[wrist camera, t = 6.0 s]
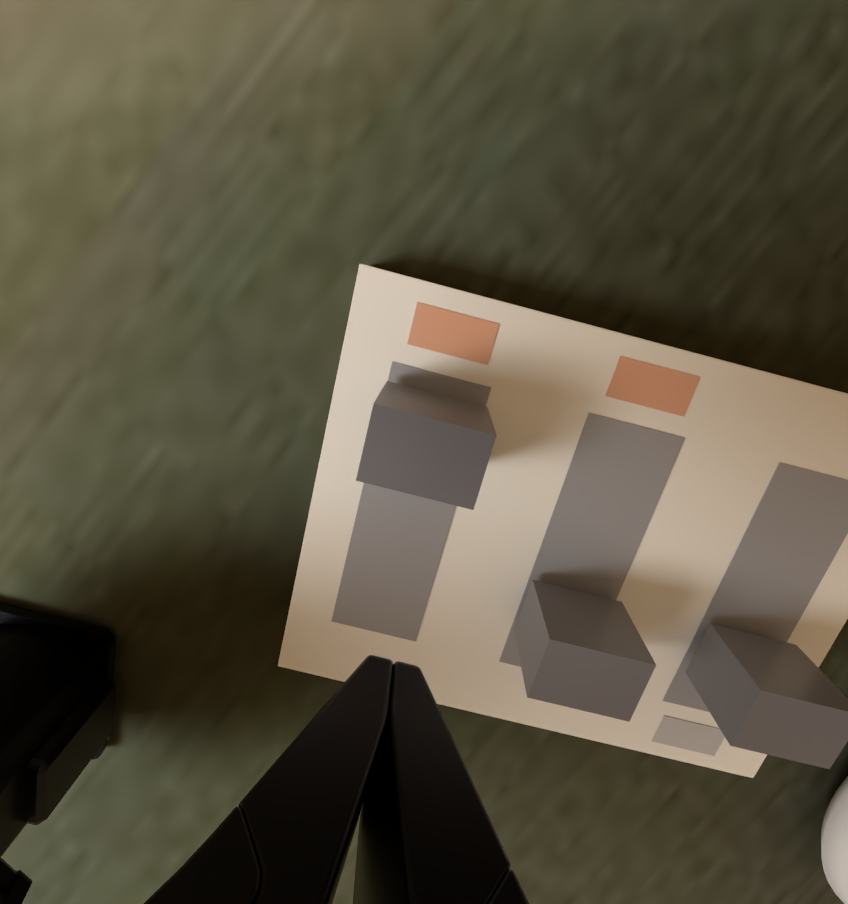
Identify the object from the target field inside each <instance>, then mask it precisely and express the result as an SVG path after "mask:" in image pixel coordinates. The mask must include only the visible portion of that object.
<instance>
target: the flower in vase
mask: <svg viewBox="0 0 848 904" xmlns="http://www.w3.org/2000/svg"><path fill="white" fill-rule="evenodd" d="M821 858H822V864H823V870H824V873H825V875H826V878H827V881H828V883H829V884H830V886H831V888H832V889H833V891H834V892H835V894H836V895H837V896H838V897H839V898H840V899H841V900H842V902H843V903H844V904H848V776H847V778H846V779H845V780H844V781H843V783H842V784H841V785H840V787H839V788H838V789H837V791H836V792H835V794H834V796H833V798H832V799H831V801H830V803H829V805H828V808H827V810H826V813H825V815H824V819H823V824H822V828H821Z"/></svg>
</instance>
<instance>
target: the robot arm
mask: <svg viewBox="0 0 848 904" xmlns="http://www.w3.org/2000/svg"><path fill="white" fill-rule="evenodd" d="M98 640H100V641H101V642H102V643H101V642H99V641H98ZM115 644H116V639H115V636H114V634H113V633H112V632H111V631H110V630H108V629H106V628H103V627H99V626H95V625H90V624H86V623H82V622H78V621H73V620H69V619H65V618H61V617H56V616H52V615H48V614H44V613H39V612H35V611H31V610H27V609H22V608H18V607H14V606H10V605H5V604H1V603H0V904H22V902H23V900H24V898H25V896H26V894H27V892H28V890H29V888H30V886H31V884H32V880H31V879H30V878H29V877H28V876H26V875H25V874H24V873H23V872H22V871H21V870H19V871H17V872H16V871H15V870H14V869H13V868H12V867H11V866H10V865H8V864H7V863H6V862H5V861H4V860H3V859H2V858H1V856H2V855H3V854H4V853H5V851H6V850H7V849H8V847H9V846H10V845H11V843H12V842H13V841H14V840H15V838H16V837H17V836H18V834H19V833H20V832H21V830H22V829H23V828H24V827H25V825H26V824H27V823H28V824H33V825H38V824H40V823H41V822H43V821H44V820H46V819H47V818H48V817H49V815H50V814H51V813H52V811H53V810H54V809H55V807H56V806H57V805H58V803H59V802H60V801H61V799H62V798H63V796H64V795H65V794H66V792H67V791H68V790H69V788H70V787H71V786H72V784H73V783H74V782H75V780H76V779H77V778H78V776H79V775H80V774H81V772H82V771H83V770H84V768H85V767H86V765H87V764H88V763H89V761H90V760H91V759H97V758H98V757H99V756H100V755H101V754H102V753H103V751H104V750H105V748H106V746H107V737H108V736H109V734H110V733H111V731H112V724H113V712H114V701H115V690H116V686H115V683H114V681H113V680H112V679H113V667H114V656H115ZM361 808H362V809H361ZM360 811H361V815H360V824H359V834H358V846H357V859H356V871H355V883H354V896H353V904H529V902H528V900H527V898H526V896H525V894H524V892H523V890H522V887H521V885H520V883H519V881H518V879H517V876H516V874H515V872H514V871H513V870H512V869H510V862H509V859H508V857H507V855H506V853H505V851H504V849H503V846H502V844H501V842H500V840H499V838H498V836H497V833H496V831H495V829H494V827H493V825H492V823H491V820H490V818H489V816H488V814H487V812H486V810H485V807H484V805H483V803H482V801H481V799H480V797H479V794H478V792H477V790H476V788H475V786H474V784H473V781H472V779H471V777H470V775H469V773H468V770H467V768H466V766H465V764H464V762H463V760H462V757H461V755H460V753H459V751H458V749H457V747H456V744H455V742H454V740H453V738H452V736H451V734H450V731H449V729H448V727H447V725H446V723H445V721H444V718H443V716H442V714H441V712H440V710H439V708H438V705H437V703H436V701H435V699H434V697H433V694H432V692H431V690H430V688H429V686H428V684H427V681H426V679H425V677H424V675H423V673H422V671H421V669H420V668H419V667H418V666H416V665H412V664H408V663H404V662H399V661H397V662H395V663H394V664H393V662H392V660H390V659H387V658H383V657H379V656H375V655H369V656H367V657H366V658H365V659H364V660H363V662H362V663H361V664H360V665H359V666H358V667H357V668H356V670H355V671H354V672H353V673H352V674H351V675H350V677H349V678H348V679H347V680H346V681H345V682H344V683H343V685H342V686H341V687H340V688H339V689H338V690H337V691H336V693H335V694H334V695H333V696H332V697H331V698H330V700H329V701H328V702H327V703H326V704H325V705H324V706H323V708H322V709H321V710H320V711H319V712H318V713H317V714H316V716H315V717H314V718H313V719H312V720H311V721H310V723H309V724H308V725H307V726H306V727H305V728H304V729H303V731H302V732H301V733H300V734H299V735H298V736H297V737H296V739H295V740H294V741H293V742H292V743H291V744H290V746H289V747H288V748H287V749H286V750H285V751H284V752H283V754H282V755H281V756H280V757H279V758H278V759H277V760H276V762H275V763H274V764H273V765H272V766H271V767H270V769H269V770H268V771H267V772H266V773H265V774H264V775H263V777H262V778H261V779H260V780H259V781H258V782H257V784H256V785H255V786H254V787H253V788H252V789H251V790H250V792H249V793H248V794H247V795H246V796H245V797H244V798H243V800H242V801H241V802H240V804H239V807H236V808H234V810H233V811H232V812H231V813H230V814H229V815H228V816H227V818H226V819H225V820H224V821H223V822H222V823H221V824H220V826H219V827H218V828H217V829H216V830H215V831H214V832H213V833H212V835H211V836H210V837H209V838H208V839H207V840H206V841H205V842H204V843H203V844H202V845H201V846H200V848H199V849H198V850H197V851H196V852H195V853H194V854H193V855H192V856H191V857H190V858H189V859H188V861H187V862H186V863H185V864H184V865H183V866H182V867H181V868H180V869H179V870H178V871H177V872H176V873H175V874H174V875H173V876H172V877H171V878H170V879H169V880H168V881H167V882H165V883H164V884H163V885H162V886H161V887H160V888H159V889H158V890H157V891H156V892H155V893H154V894H153V895H152V896H151V897H150V898H149V899H148V900H147V901H146V902H145V903H144V904H332V902H333V899H334V896H335V893H336V889H337V886H338V883H339V880H340V877H341V873H342V870H343V867H344V864H345V861H346V857H347V854H348V851H349V848H350V844H351V841H352V838H353V835H354V832H355V828H356V825H357V821H358V818H359V814H360Z"/></svg>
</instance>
